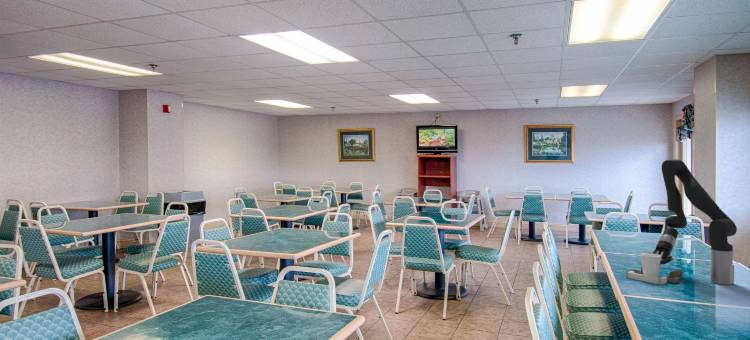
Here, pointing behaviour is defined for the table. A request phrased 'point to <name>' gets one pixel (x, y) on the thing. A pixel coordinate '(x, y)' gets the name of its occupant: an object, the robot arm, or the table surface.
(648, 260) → the foam cup
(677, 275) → the channel
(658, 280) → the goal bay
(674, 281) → the pit
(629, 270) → the pit
